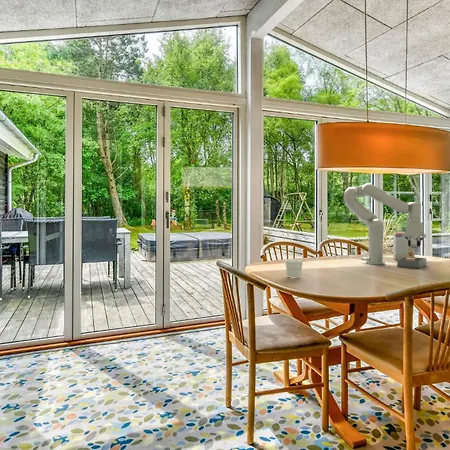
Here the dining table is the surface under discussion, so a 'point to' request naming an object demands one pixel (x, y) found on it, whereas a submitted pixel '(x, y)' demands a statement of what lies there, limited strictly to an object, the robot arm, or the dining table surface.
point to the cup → (294, 267)
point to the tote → (411, 262)
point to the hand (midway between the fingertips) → (414, 246)
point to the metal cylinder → (413, 242)
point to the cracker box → (401, 246)
